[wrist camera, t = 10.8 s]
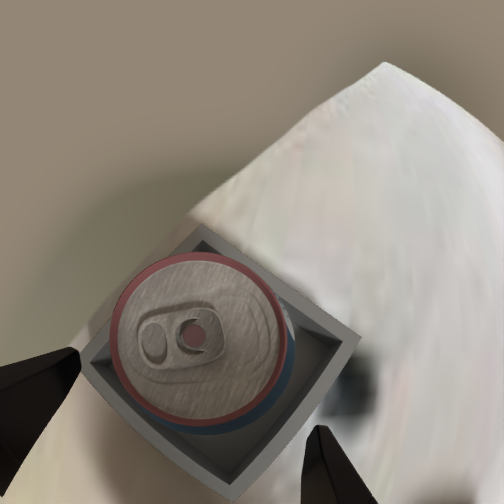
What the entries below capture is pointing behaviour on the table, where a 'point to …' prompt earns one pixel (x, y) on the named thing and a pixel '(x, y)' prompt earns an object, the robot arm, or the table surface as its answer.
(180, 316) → the soda can
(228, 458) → the tray
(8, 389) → the robot arm
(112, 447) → the table surface
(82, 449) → the table surface
